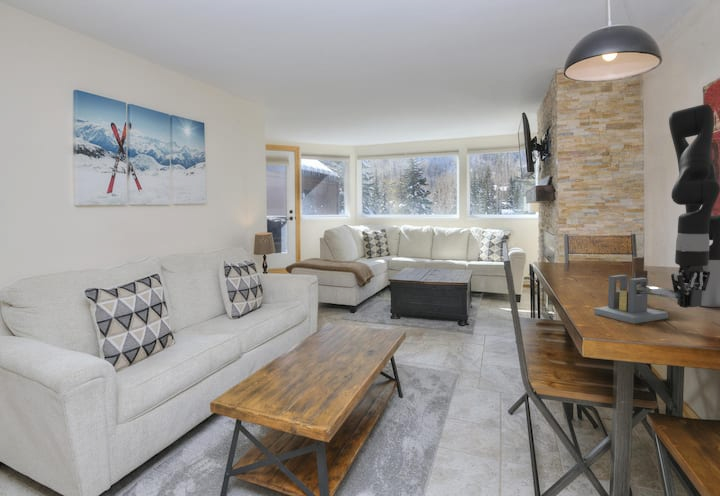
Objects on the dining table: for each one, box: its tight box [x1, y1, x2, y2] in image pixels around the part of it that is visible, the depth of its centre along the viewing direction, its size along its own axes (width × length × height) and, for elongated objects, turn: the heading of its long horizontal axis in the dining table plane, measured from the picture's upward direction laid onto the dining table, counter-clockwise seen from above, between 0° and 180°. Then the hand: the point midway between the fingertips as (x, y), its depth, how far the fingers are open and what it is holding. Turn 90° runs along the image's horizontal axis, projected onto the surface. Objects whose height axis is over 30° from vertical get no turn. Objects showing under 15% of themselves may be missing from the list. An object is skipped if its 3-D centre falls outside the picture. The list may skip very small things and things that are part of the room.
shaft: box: [636, 284, 702, 308], centre depth 123 cm, size 4×17×5 cm, turn 20°
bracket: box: [593, 274, 669, 325], centre depth 134 cm, size 16×14×13 cm
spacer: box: [619, 288, 640, 312], centre depth 134 cm, size 7×2×7 cm, turn 110°
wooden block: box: [631, 256, 649, 285], centre depth 147 cm, size 4×11×18 cm, turn 153°
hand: (689, 306), depth 117 cm, fingers closed on shaft, 4 cm apart
